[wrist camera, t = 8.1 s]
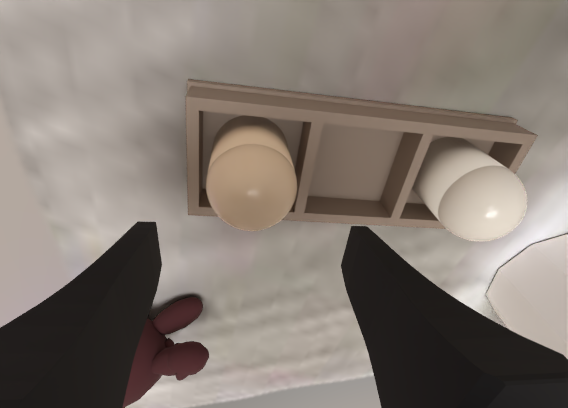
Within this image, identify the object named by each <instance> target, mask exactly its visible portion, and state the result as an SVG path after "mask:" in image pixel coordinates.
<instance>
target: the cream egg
mask: <svg viewBox="0 0 568 408" xmlns="http://www.w3.org/2000/svg"><path fill="white" fill-rule="evenodd" d="M412 189H413V190H414V192H415V193H416V194H417V195H418V196H419V198H420V199H421V200H422V201H423V202H424V203H425V205H426V206H427V207H428V208H429V209H430V211H431V212H432V213H433V214H434V215H435V217H436V218H437V219H438V220H439V221H440V222H441V224H442V225H443V226H444V227H445V228H446V229H447V230H448V231H450V232H451V233H453V234H454V235H456V236H458V237H460V238H463V239H466V240H470V241H490V240H495V239H498V238H501V237H503V236H505V235H507V234H508V233H510V232H511V231H512V230H514V229H515V228H516V227H517V226H518V225H519V223H520V222H521V220H522V219H523V217H524V215H525V212H526V208H527V194H526V190H525V188H524V186H523V184H522V182H521V180H520V179H519V178H518V177H517V176H516V175H515V174H514V173H513V172H512V171H511V170H509V169H508V168H506V167H505V166H503V165H502V164H500V163H499V162H498V161H496V160H495V159H493V158H492V157H490V156H489V155H487V154H486V153H484V152H483V151H481V150H480V149H478V148H477V147H476V146H474V145H473V144H471V143H470V142H468V141H467V140H465V139H463V138H457V137H443V138H439V139H437V140H435V141H432V142H431V143H430V145H429V147H428V150H427V152H426V154H425V157H424V159H423V162H422V164H421V167H420V169H419V172H418V174H417V177H416V179H415V182H414V184H413V187H412Z"/></svg>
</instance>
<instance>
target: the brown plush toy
mask: <svg viewBox="0 0 568 408" xmlns="http://www.w3.org/2000/svg"><path fill="white" fill-rule="evenodd" d="M202 309H203V304H202V302H201V301H200V300H199V299H198V298H195V297H189V298H185V299H182V300H179V301H176V302H175V303H173V304H172V305H170V306H169V307H167V308H166V309H165V310H163V311H162V312H160V314H159V315H158V316H157V317H156V318H155V319H154V320H153V321H151V320H150V319H148V318H147V320H146V323H145V326H144V329H143V332H142V335H141V338H140V341H139V344H138V347H137V350H136V353H135V356H134V360H133V364H132V368H131V372H130V377H129V381H128V385H127V389H126V394H125V399H124V403H123V408H125V407H126V406H128V405H130V404H132V403H134V402H135V401H137V400H139V399H140V398H141V397H142V396H143V395H144V394H145V393H146V392H147V391H148V390H149V389H150V388H151V387H152V386H153V385H154V384H155V383H156V382H157V381H158V380H159V379H160V378H161V376H162V375H166V376H172V375H176V378H177V380H179V381H180V380H183V379H184V378H186V377H187V376H188V375H193V374H196V373H197V372H199V371H200V370H201V369H203V367H204V366H205V364H206V362H207V360H208V358H209V352H208V350H207V349H206V348H205V347H204V346H203V345H202V344H201V343H199V342H194V341H191V342H184V343H176V344H174V342H173V341H172V340H171V339H169V338H168V339H166V337H165V335H166V334H171V333H173V332H176V331H178V330H180V329H182V328H185V327H186V326H188V325H189V324H190V323H192V322H193V321H194V320H195V319H197V318H198V317H199V315H200V313H201V312H202Z"/></svg>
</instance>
